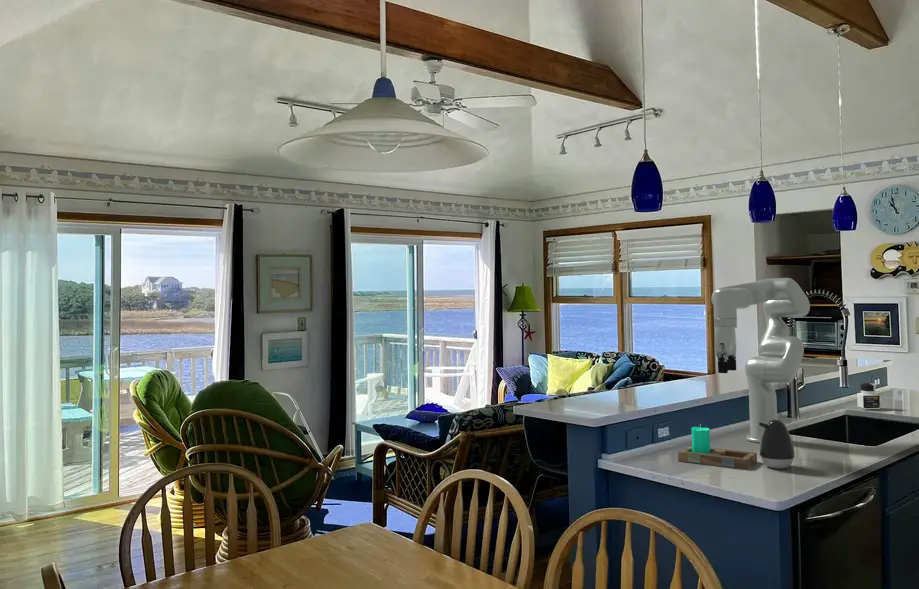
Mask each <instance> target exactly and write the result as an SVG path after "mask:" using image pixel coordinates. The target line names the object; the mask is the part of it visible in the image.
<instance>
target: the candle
mask: <svg viewBox="0 0 919 589" xmlns="http://www.w3.org/2000/svg"><path fill="white" fill-rule="evenodd" d="M701 425H702V424H701V423H700V424H699V426H693V427H691V446H692V452H695V453H703V454H709V453H710V448H711V429H710V428H709V427H701Z"/></svg>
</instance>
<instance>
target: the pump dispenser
mask: <svg viewBox="0 0 919 589" xmlns="http://www.w3.org/2000/svg"><path fill="white" fill-rule="evenodd" d="M759 425H760V426H762V427H764V428H765V429H764V431H763V434H762V438H761V443H760V445H759V456H760V457H761V458H760V459H761V461H762V462H763V464H764V465H765V466H767V467H768V468H770V469H775V470H782V469H787V468H789V467H790V466H791V465H792V464H793V461H794V458H795V456H796V455H795V448H794V443H793V440H792V438H791V437H792V436H791V434H790V432H789V430H788V428H787V426H786V424H785V423H784V422H783V421H782V420H780V419H777V420H771V421H769V422H768V424H764V423H761V422H760V423H759Z"/></svg>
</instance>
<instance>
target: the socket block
mask: <svg viewBox="0 0 919 589" xmlns="http://www.w3.org/2000/svg"><path fill="white" fill-rule="evenodd" d="M757 455H758V454H757V452H754V451H744V450H734V449H725V448H717V447H710V453H709V454H703V453H695V452H692V445H689V446H688V447H685V448H683V449H681V450H679V451H678V452H677V457H678V458H677V459H678V460H677V461H678V462H682V463H683V462H684V463H691V464H699V465H708V466H715V467H723V468H731V469H741V470H748V469H749V468H751V467H752V466H753V465H754V464H756V463H758V456H757Z"/></svg>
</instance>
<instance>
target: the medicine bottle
mask: <svg viewBox="0 0 919 589" xmlns="http://www.w3.org/2000/svg"><path fill="white" fill-rule="evenodd" d="M876 391H877V389H876V384H875V383H871V382H869V383H868V382H866V383H865V382H862V383H861V384H860V392H857V393H856V400H857V407H858V406H859V407H862V408H880V409H881V402H880V401H881V399H880V397H881V396H880V394H878V393H876Z"/></svg>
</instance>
